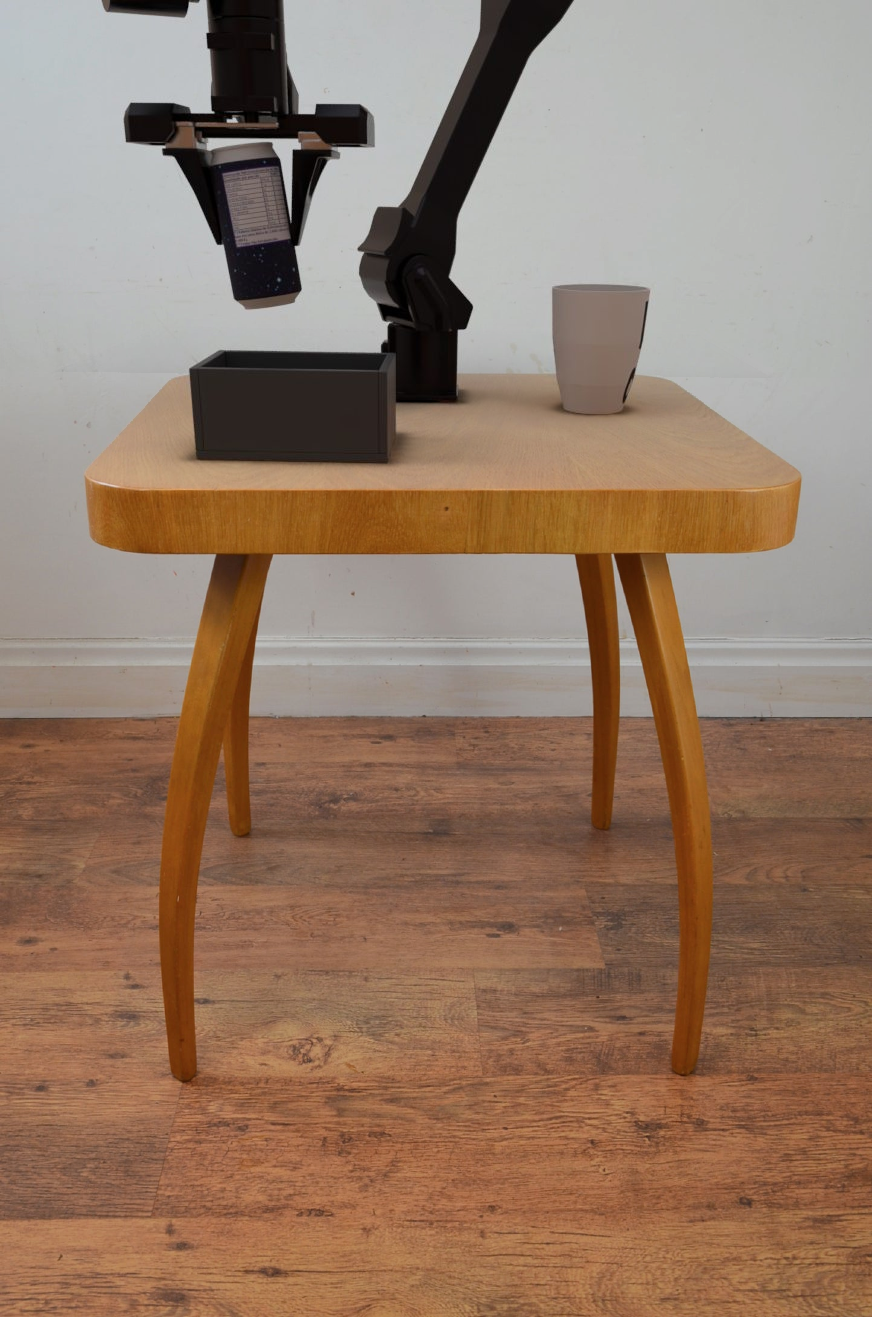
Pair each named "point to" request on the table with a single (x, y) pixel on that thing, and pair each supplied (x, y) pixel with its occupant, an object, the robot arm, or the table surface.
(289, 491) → the table surface
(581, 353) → the cup
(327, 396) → the open storage box
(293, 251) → the beverage can
